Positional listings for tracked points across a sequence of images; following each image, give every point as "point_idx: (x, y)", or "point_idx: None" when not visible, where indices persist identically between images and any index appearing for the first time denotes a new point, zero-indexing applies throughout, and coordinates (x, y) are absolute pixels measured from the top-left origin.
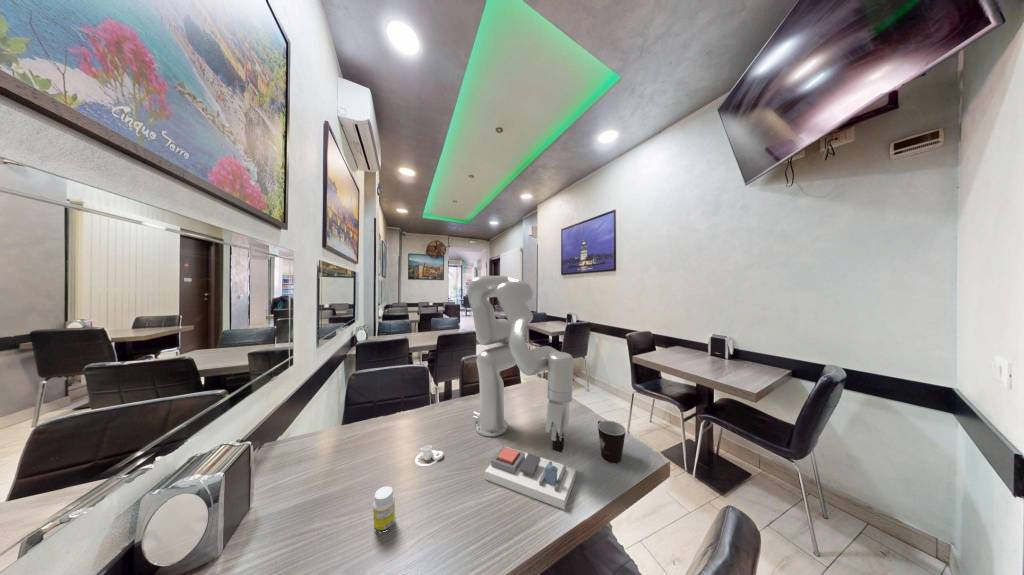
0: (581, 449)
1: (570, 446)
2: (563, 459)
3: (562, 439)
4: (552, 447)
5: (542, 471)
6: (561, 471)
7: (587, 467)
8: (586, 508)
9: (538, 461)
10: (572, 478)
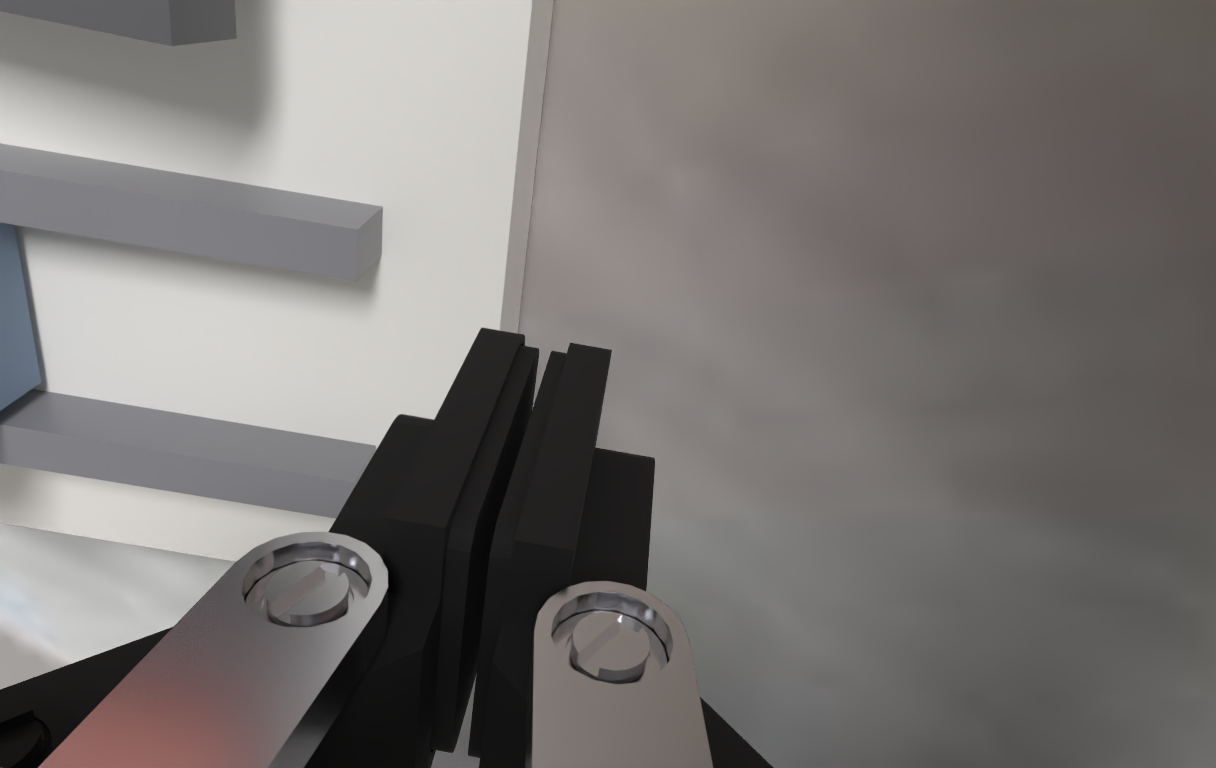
0: (1125, 577)
1: (1205, 423)
2: (819, 343)
3: (473, 751)
4: (472, 350)
5: (144, 102)
6: (197, 458)
7: (720, 641)
8: (81, 623)
9: (50, 19)
10: None
